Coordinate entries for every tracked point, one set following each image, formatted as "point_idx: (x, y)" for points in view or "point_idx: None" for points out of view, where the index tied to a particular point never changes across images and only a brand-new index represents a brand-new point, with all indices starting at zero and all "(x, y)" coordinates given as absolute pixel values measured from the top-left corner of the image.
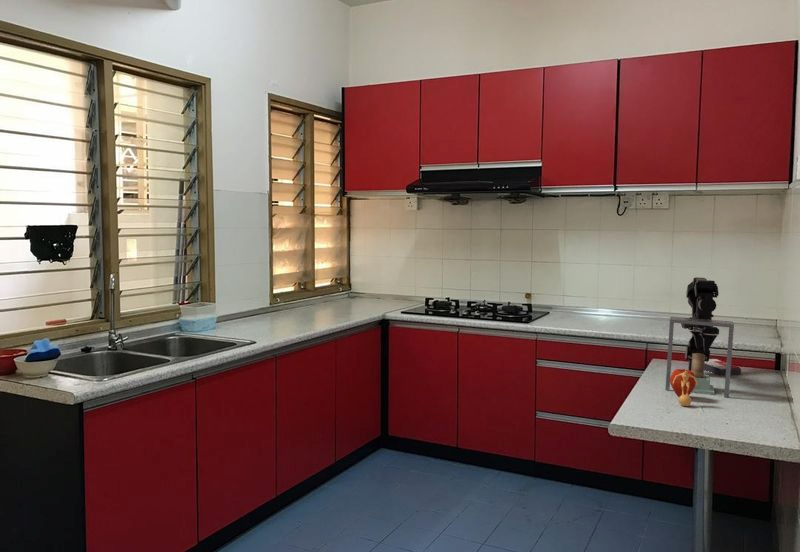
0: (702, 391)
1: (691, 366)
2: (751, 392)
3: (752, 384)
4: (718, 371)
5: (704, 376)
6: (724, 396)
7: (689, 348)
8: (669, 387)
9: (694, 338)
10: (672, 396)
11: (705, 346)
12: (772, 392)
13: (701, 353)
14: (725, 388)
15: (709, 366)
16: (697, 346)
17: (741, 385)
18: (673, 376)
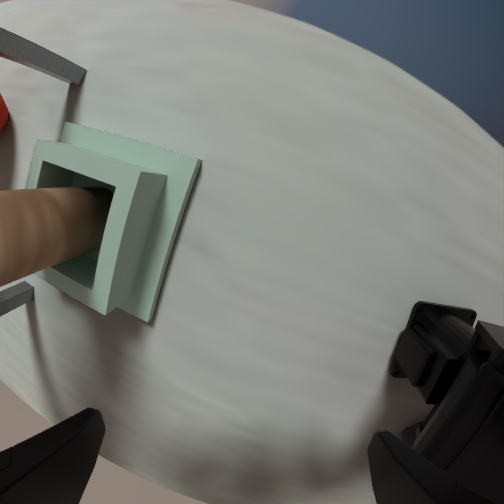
0: None
1: (30, 190)
2: (125, 420)
3: (256, 477)
4: (415, 436)
5: (97, 281)
6: (22, 282)
7: (501, 373)
8: (61, 79)
9: (473, 495)
10: (15, 91)
11: (45, 439)
12: (154, 470)
13: (431, 432)
14: (1, 292)
15: None
16: (382, 452)
17: (231, 445)
18: None
